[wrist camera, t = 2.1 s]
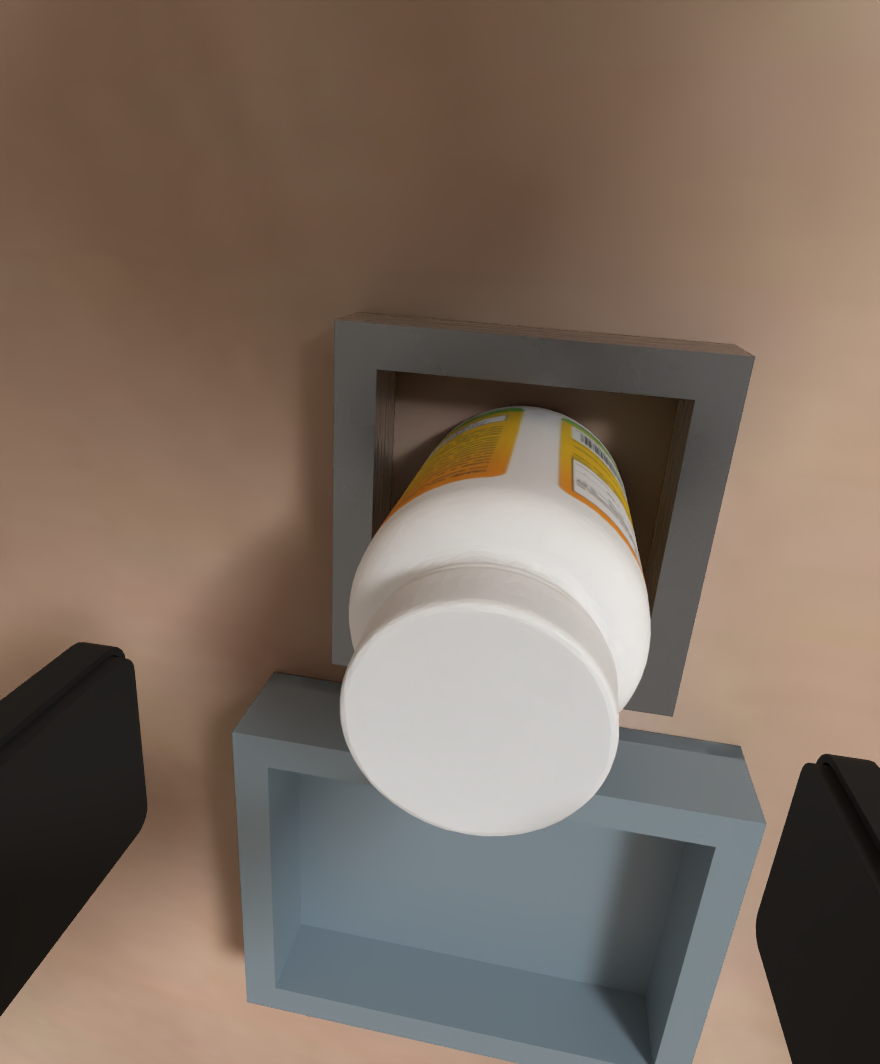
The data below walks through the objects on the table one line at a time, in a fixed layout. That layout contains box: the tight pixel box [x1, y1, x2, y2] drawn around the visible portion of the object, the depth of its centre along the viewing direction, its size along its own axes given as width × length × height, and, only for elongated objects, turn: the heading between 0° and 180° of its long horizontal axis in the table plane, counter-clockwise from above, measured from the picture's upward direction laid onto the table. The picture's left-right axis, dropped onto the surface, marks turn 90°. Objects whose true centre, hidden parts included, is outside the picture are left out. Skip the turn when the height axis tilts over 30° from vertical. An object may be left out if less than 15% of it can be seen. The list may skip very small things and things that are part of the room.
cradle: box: [332, 313, 755, 717], centre depth 18 cm, size 9×9×2 cm
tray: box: [232, 672, 766, 1064], centre depth 22 cm, size 11×14×3 cm
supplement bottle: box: [340, 406, 651, 836], centre depth 14 cm, size 5×5×10 cm
